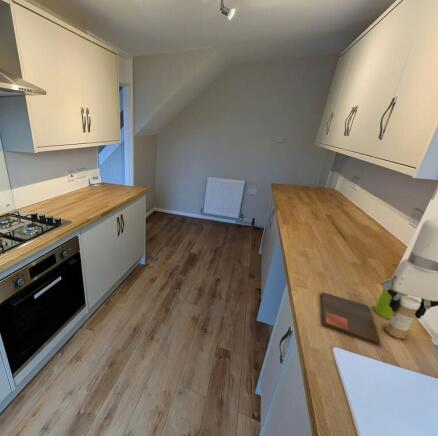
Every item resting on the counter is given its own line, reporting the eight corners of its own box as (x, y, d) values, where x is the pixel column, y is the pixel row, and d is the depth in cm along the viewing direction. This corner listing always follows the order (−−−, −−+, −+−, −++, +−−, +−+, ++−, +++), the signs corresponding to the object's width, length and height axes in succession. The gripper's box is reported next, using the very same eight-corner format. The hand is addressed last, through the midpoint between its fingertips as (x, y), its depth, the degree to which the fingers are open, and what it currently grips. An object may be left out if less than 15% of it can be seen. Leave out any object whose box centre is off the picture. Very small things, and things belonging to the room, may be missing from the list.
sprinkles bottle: (388, 326, 80) (402, 293, 76) (407, 335, 77) (423, 301, 72) (382, 331, 78) (397, 297, 74) (401, 341, 75) (418, 306, 70)
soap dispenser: (399, 323, 82) (423, 274, 75) (373, 312, 87) (393, 265, 80) (402, 315, 85) (425, 267, 78) (376, 305, 90) (395, 259, 83)
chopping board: (321, 294, 96) (322, 291, 96) (367, 308, 89) (368, 305, 88) (323, 325, 80) (324, 322, 80) (378, 345, 73) (379, 342, 73)
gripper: (466, 264, 67) (439, 316, 73) (385, 249, 76) (367, 296, 82) (480, 277, 61) (449, 332, 67) (390, 258, 70) (370, 308, 76)
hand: (404, 311), depth 75 cm, fingers closed on sprinkles bottle, 4 cm apart
